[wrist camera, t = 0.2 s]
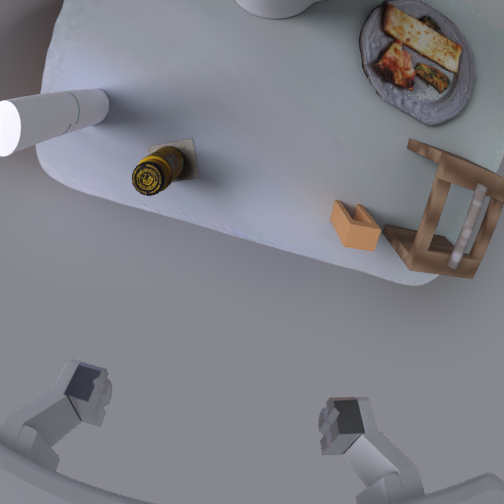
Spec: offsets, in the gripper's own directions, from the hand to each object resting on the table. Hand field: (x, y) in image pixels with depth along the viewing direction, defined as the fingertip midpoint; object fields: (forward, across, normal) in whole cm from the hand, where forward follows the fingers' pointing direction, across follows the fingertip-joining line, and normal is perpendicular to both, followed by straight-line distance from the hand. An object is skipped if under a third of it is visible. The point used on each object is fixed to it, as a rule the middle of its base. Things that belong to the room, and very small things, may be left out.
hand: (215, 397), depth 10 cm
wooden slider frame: (+47, -37, +2) cm, 60 cm away
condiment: (+48, +13, +4) cm, 50 cm away
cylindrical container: (+48, +30, -6) cm, 57 cm away
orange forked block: (+47, -20, +9) cm, 52 cm away
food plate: (+48, -28, -24) cm, 60 cm away
